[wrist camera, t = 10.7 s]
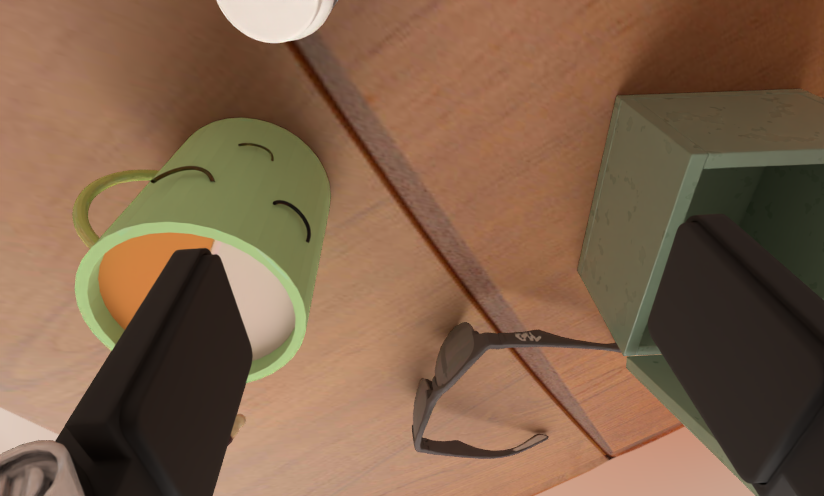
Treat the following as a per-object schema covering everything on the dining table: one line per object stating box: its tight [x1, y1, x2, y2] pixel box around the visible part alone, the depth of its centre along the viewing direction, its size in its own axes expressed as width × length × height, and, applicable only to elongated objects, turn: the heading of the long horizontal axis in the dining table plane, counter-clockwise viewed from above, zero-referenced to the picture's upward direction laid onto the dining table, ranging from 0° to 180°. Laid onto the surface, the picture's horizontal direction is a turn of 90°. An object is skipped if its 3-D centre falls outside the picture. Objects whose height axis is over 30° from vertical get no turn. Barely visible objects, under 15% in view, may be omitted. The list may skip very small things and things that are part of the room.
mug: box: [72, 118, 331, 383], centre depth 26 cm, size 13×10×12 cm
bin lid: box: [626, 355, 759, 496], centre depth 23 cm, size 14×12×6 cm
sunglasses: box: [412, 322, 622, 459], centre depth 42 cm, size 16×17×5 cm
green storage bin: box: [577, 89, 824, 356], centre depth 30 cm, size 14×12×9 cm
